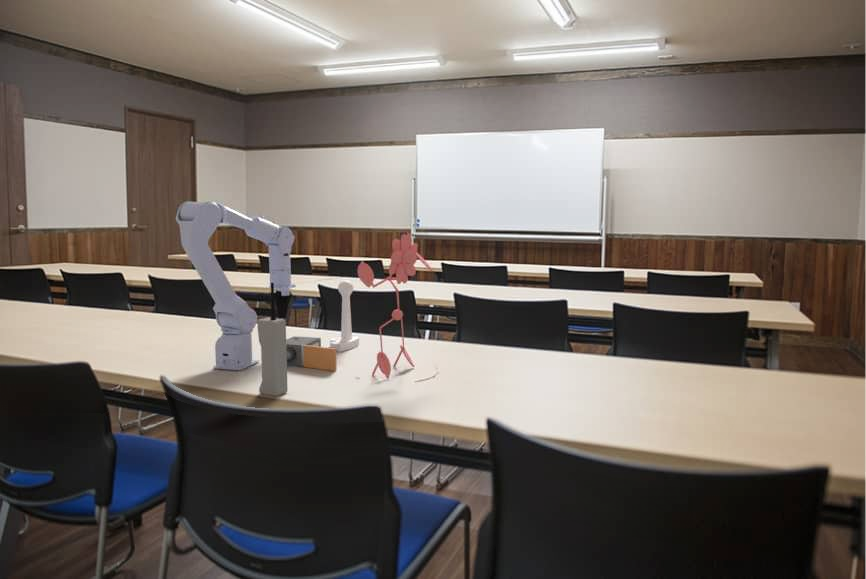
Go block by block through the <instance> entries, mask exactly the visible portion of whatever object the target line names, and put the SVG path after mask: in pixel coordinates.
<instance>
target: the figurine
mask: <svg viewBox="0 0 866 579" xmlns="http://www.w3.org/2000/svg"><path fill="white" fill-rule="evenodd" d="M412 243H413V240H412V234H411V233H407V234H404V233H403V234H402V235H401V236H400V239H398V238H395V239H394V240H392V243H391V246H392V249H393V250H392V251H393V252H392V254H391V256H390V264H389V268H388V274H389V276H387V277H386V278H384V279H383V280H380V281H379V282H377V283H375V284H374V280H375V274H374V272H373V269H372V268H371V267H370V265H369V264H367V263H365V262H364V260H362V261H361V262H360V264H358V266H357V276H358V278H359V280H360V282H362V284H364V285H365V286H366V287H367V288H370V287H372V288H373V289H374V288H376V287H377V286H380V285H381V284H383V283H385V282H387V281H388V282H390V283H391V285H392V287H393V288H394V289H395V292H396V302H397V303H396V304H397V309H394V310H393V311H392V312H391V317H392V318H391V319H390V320H388V321H387V322H385V323H384V324H382V325H381V326H380V327H379V338H380V351H379V352H378V353H377V354H376V355H377V356H376V362H377V363H376V365H375V366H374V369H373V371H372V375H375V373H376V371H377V369H378V368H379V370H380V372H381V373H382V374H383V375H384V376H385V377H386V379H387V380H388V379H389V378H390V375H391V371H392V368H391V367H394V368H396V366H397V364H398V363H399V362H398V361H399V359H400V358H401V355H402V354H403V355H404V357H405V358H406V360H407V361H408V363H409V364H410V365H411V366H412V367H413V368H414V367H415V365H414V363H413V361H412V358H411V357H410V355H409V353H408V352H407V350H406V348H405V340H404V339H405V338H404V324H403V323H404V322H403V316H404V314H403V311H402V310H401V309H400V296H399V295H400V293H399V289H398V287H397V286H396V285H395V283H394V282H393V281H395V280H396V284H397V285H401V283H403V284H407V283H408V279H409V278H408V276H409V277H413V276H415V275H416V272H417V270H416V267H415V264H416V262H417V260H420V262H421V263H422V264H423V265H424V266H425V268H427V269H429V271H431V272H434V270H433V269H432V267H431V266H430V265H429V263H428V262H427V261H426V260H425V259H424V257H422V255H420V253H419V252H418V249H419V248H418V243H417V242H415V243H413V244H412ZM394 274H395V277H392V276H393V275H394ZM394 320H395V321H400V324H401V325H400V326H401V337H402V344H400V345H399V347H400V351H399V353H398V355H397V357H396V359H395V361H394V364H393V366H391V361H390V360H389V357H388V355H387V354H386V353H385V352H383V351H384V349H383V339H382V338H383V337H382V336H383V335H382V328H383V327H385V326H386V325H388V324H389V323H392V321H394ZM434 368H435V369H436V370H438V368H437V367H436V366H434ZM438 373H439V372H438V371H437V372H436V374H435V375H433V376H431V377H429V378H424V379H420V380H419V382H422V381H426V380H429V379H434V378H435V376H436V375H438ZM355 378H356V379H358V380H360V378H359V377H355ZM414 382H415V383H416V382H418V380H416V381H414Z"/></svg>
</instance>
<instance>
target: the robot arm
mask: <svg viewBox="0 0 866 579" xmlns="http://www.w3.org/2000/svg"><path fill="white" fill-rule="evenodd" d="M175 220H176V223H177V224H178V226H179V232H180V242H181V247H182V248H183V250H184V252H185V254H186V255H187V257H188V259H189V260H190V262H191V264H192V265H193V268H194V270H195V271H196V272H197V274H198V276H199V277H200V279H201V280H202V282H203V284H204V286H205V287H206V289H207V291H208V292H209V294H210V296H211V297H212V299H213V301H214V306H213V307H212V310H213V311H214V313H215V320H216V323H217V325H218V326H219V327H220V331H221V332H222V333H221V335H220V337H218V338H217V339H216V341H215V344H214V349H215V350H214V352H215V354H214V355H215V365H214V366H212V367H213V369H217V370H219V369H220V370H230V371H231V370H232V371H242V370H244V369H246V368H247V369H248V368H249V367H251V366H253V365H256V364H258V363H260V360H258V359H253V338H252V333H253V331H254V328H255V327H256V325H257V320H258V315H257V312H256V311H255V310H254V309H253V308H251V307H250V306H249V304H248V303H247V302H246V300H244V299H243V298H241V297H240V296H239V295H237V293H236V291H235V290H234V288H233V287H232V285H231V282H230V281H229V279H228V277H227V275H226V274H225V272H224V271H223V269H222V267H221V265H220V263H219V262H218V260H217V258H216V256H215V254H214V253H213V251H212V249H211V248H210V245H209V241H210V239H211V237H212V236H213V234H214V232H215V231H216V229H217V228H218V227H219V225H220V224H228V225H231V226H232V227H236V228H239V229H242V230H244V232H245V234H246V235H247V237H250V238H252V239H255V240H258V241H260V242H262V243H264V244H265V245H266V246H267V247H268V263H269V264H268V265H269V268H268V269H269V270H268V271H269V286H268V287H269V290H271V283H272V282H273V283H274V304H275V314H276V317H277V319H286V318H287V315H288V309H289V305H290V302H291V299H292V297H293V293H292V291H290V290H291V289H293V288H296V287H297V285H296V284H294V283H292V271H291V267H292V266H291V252H292V246H293V244H294V241H295V235H294V234H293V231H292V230H291V229H290V228H289V227H288V226H285V225H284V226H282V225H278V222H277V221H269V220H267V219H265V216H264V215H261V214H259V215H258V214H257V215H253V216H251V217H248V216H246V215H245V214H242V213H240V212H238V211H236V210H233V209H231V208H230V207H228V206H225V205H223V204H221V203H217V202H214V201H213V200H212V201H210V200H209V201H189V200H188V201H185V202H183V203H181V205H180V206H179V207H178V210H177V213H176V217H175ZM269 295H270V297H271V292H270V293H269Z"/></svg>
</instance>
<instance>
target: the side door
mask: <svg viewBox="0 0 866 579" xmlns="http://www.w3.org/2000/svg"><path fill="white" fill-rule="evenodd" d="M301 352H302V366H301V367H304V368H311V369H318V370H324V371H333V372H336V371H337V351H336V349H334V348H330V347H324V346H321V347H318V346H310V345H301Z"/></svg>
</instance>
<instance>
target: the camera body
mask: <svg viewBox="0 0 866 579" xmlns="http://www.w3.org/2000/svg"><path fill="white" fill-rule="evenodd" d="M301 345H310V346H318V347H322V341H321V337H311V336H299V335H295V336H292V337H289V338H286V351H287V366H297V367H298V366H299V367H302V352H301Z"/></svg>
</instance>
